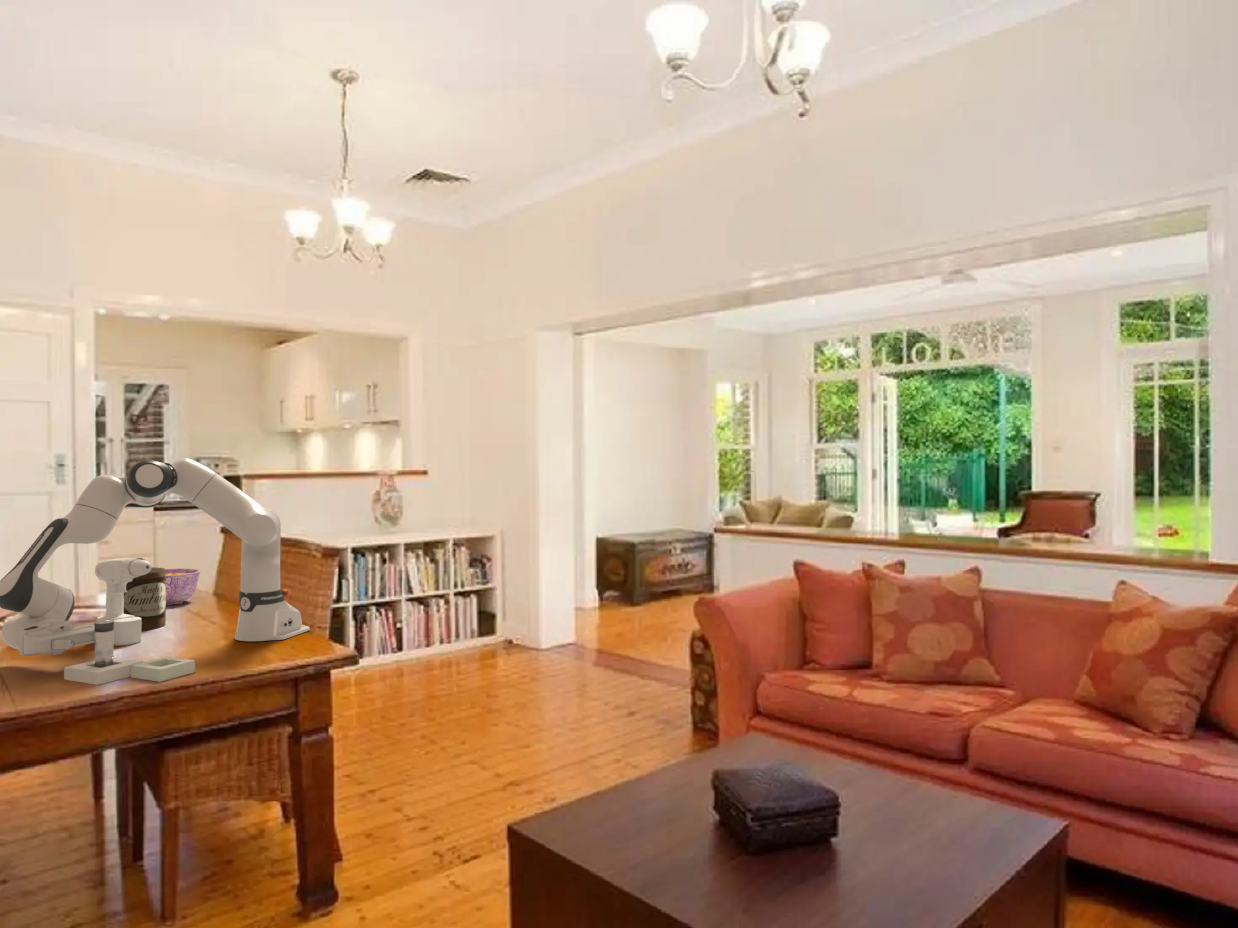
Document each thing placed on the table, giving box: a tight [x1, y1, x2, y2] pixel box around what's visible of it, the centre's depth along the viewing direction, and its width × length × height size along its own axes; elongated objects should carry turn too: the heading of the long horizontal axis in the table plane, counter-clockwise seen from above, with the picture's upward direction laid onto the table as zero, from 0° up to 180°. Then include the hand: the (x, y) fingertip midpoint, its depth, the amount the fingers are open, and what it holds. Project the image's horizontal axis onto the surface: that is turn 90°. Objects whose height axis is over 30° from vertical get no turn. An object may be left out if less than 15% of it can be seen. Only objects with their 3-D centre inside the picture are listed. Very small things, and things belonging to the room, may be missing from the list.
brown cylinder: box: [124, 557, 167, 631], centre depth 271 cm, size 15×15×22 cm
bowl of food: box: [164, 568, 201, 606], centre depth 314 cm, size 20×20×12 cm
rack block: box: [130, 656, 196, 683], centre depth 213 cm, size 10×10×3 cm
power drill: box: [94, 557, 152, 647], centre depth 248 cm, size 8×24×25 cm, turn 58°
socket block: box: [63, 656, 144, 686], centre depth 211 cm, size 12×12×3 cm
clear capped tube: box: [93, 619, 115, 668], centre depth 211 cm, size 4×4×14 cm
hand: (90, 640), depth 212 cm, fingers open, 8 cm apart
